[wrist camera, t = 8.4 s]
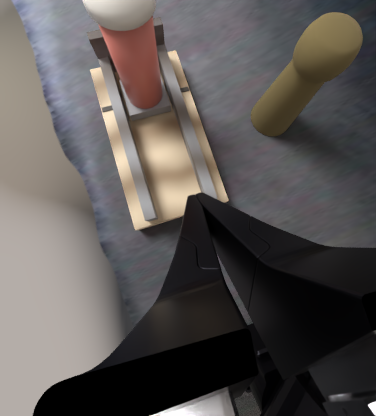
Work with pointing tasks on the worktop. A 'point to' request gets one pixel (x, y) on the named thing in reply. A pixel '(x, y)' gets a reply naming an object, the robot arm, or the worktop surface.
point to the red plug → (133, 52)
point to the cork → (308, 71)
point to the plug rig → (156, 141)
